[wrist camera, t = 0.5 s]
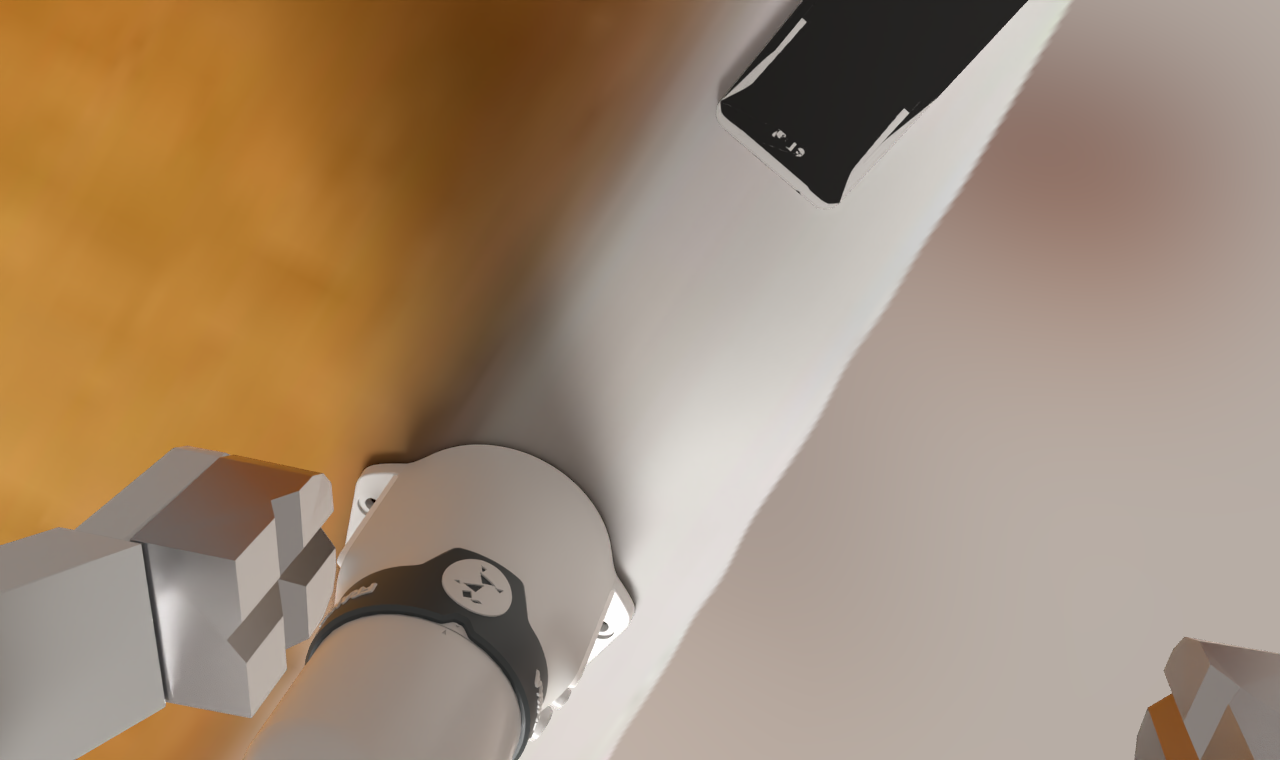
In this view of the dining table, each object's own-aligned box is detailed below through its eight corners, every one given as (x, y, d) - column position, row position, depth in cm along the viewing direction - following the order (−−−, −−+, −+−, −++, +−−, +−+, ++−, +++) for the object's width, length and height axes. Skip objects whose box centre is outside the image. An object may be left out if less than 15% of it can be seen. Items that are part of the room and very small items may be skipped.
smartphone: (1064, -40, 44) (826, 216, 51) (1058, -41, 46) (826, 209, 52) (935, -162, 43) (708, 116, 50) (932, -160, 45) (711, 110, 51)
